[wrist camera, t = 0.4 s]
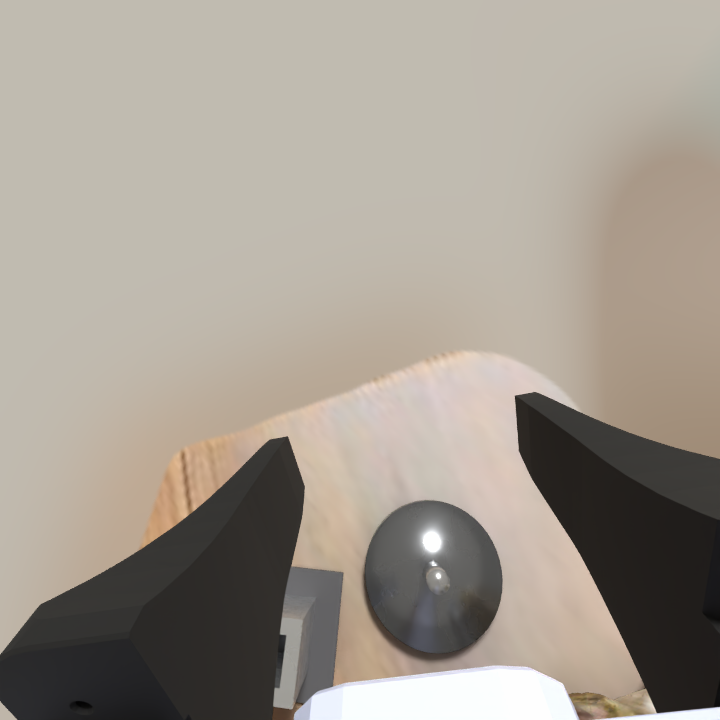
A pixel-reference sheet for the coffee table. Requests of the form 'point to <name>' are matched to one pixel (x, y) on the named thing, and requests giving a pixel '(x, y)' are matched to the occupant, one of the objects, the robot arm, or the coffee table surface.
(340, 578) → the mat
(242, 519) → the robot arm
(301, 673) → the grey hollow cube
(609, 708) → the ceramic sculpture
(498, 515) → the coffee table surface
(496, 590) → the hub
